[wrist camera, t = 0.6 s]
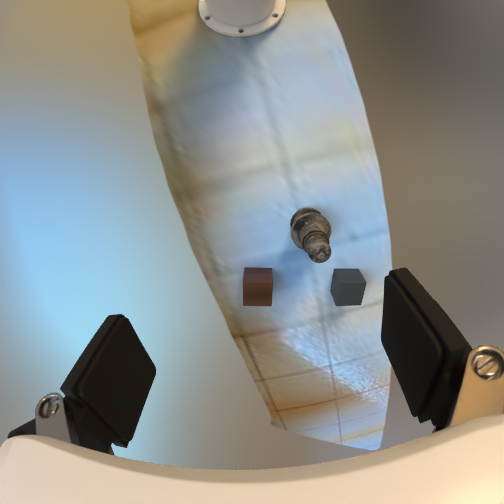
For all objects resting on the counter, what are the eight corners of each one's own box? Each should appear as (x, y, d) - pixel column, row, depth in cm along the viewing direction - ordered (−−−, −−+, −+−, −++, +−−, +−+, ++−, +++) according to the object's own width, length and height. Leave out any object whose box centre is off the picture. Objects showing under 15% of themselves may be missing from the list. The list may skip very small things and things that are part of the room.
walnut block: (244, 267, 45) (242, 281, 41) (272, 267, 45) (272, 282, 41) (244, 290, 47) (243, 305, 43) (271, 290, 47) (271, 306, 43)
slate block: (334, 268, 45) (340, 282, 41) (358, 268, 45) (366, 282, 41) (330, 291, 47) (335, 306, 43) (353, 290, 47) (361, 305, 43)
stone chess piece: (324, 241, 43) (343, 280, 32) (288, 241, 43) (296, 281, 32) (326, 205, 40) (349, 235, 30) (288, 205, 41) (298, 235, 30)
